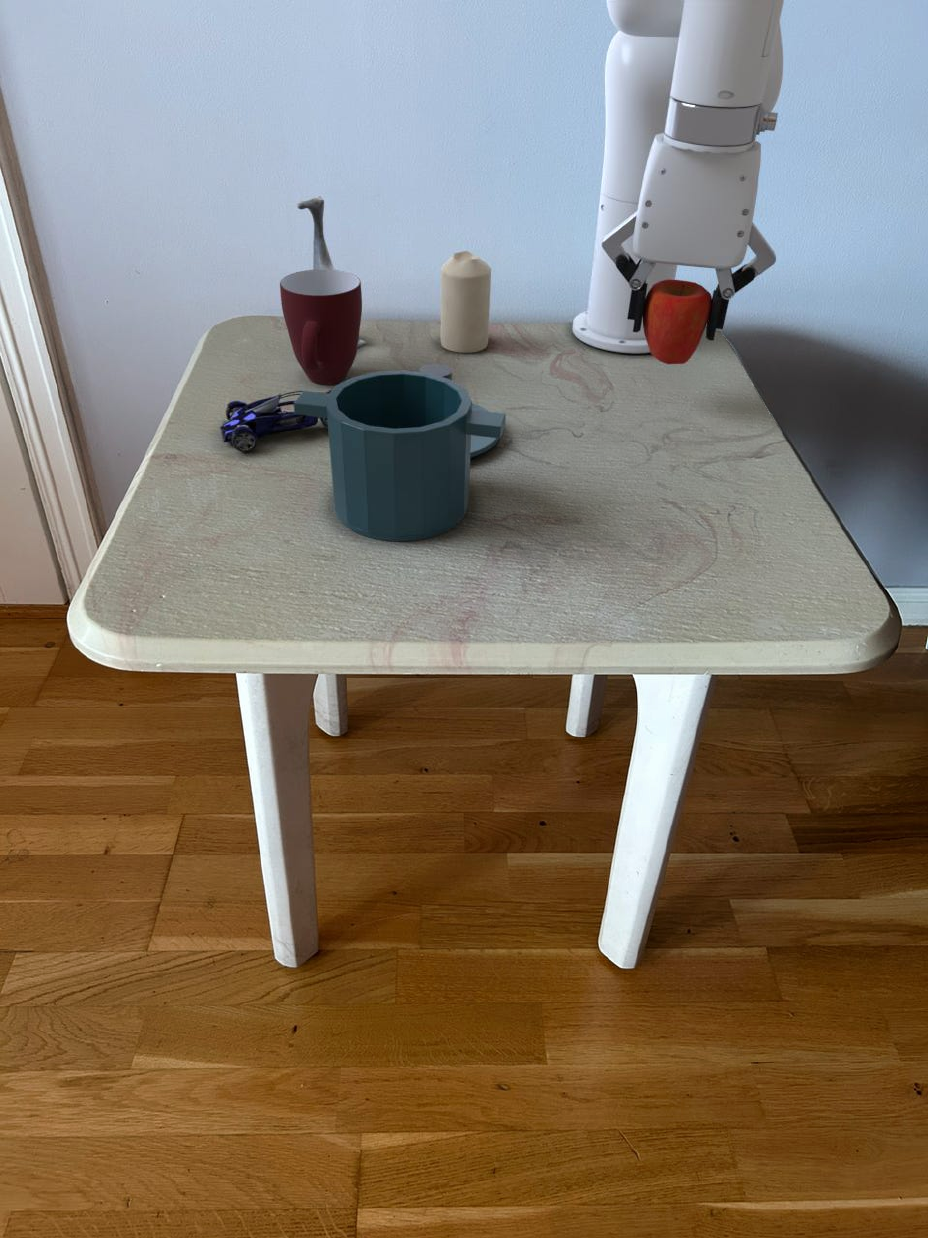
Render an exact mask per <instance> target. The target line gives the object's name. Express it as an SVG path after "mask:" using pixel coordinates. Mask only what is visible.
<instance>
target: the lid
mask: <svg viewBox="0 0 928 1238" xmlns="http://www.w3.org/2000/svg"><path fill="white" fill-rule="evenodd" d="M418 372H423V373H431V374H434V375H437V376H441V377H444V378H447V379H450V380H452V381H453V369H452V368H451V367H450V366H448V365H446V364H440V363H428V364H425V365H422V366H421V367H419V370H418ZM472 410H479V411H487V412H490V411H489V410H488V409H486V408H485V407H482V406H480V405H478V404H475V403H472ZM499 440H500V438H491V437H483V436H474V435H471V451H470V459H472V458H473V457H476V456H479V455H481V454H484V453H485V452H487V451H489V450H491V449H492V448H493V447H494V446H495V445H497V443H498V442H499Z"/></svg>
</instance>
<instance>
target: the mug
mask: <svg viewBox="0 0 928 1238" xmlns="http://www.w3.org/2000/svg"><path fill="white" fill-rule="evenodd" d="M279 291H280V293H279V294H280V302H281V310H282V315H283V318H284V322H285V325H286V330H287V333H288V336H289V340H290V343H291V347H292V351H293V355H294V357H295V359H296V361H297V362H298V364H299V366H300V367H301V369H302V371H303V372H304V374H305V375H306V377H307V378H308V379H309V381H311V382H313V383H315V384H319V385H334V384H338V383H339V384H340V383H342V382H344V381H345V379H346V378H347V377H348V374H349V372H350V371H351V369H352V367H353V364H354V362H355V358H356V357H357V352H358V348H359V347H358V339H360V332H361V331H360V330H361V323H362V314H363V294H362V282H361V279H360V278H359V277H358V276H357V275H355V274H353V273H350V272H347V271H344V270H338V269H335V270H326V269H318V270H313V269H307V270H306V269H305V270H301V271H297V272H293V273H290V274H288V275H286V276H284V277H283V278H282V279H281V280H280V282H279ZM357 347H358V348H357Z"/></svg>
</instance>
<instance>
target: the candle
mask: <svg viewBox="0 0 928 1238" xmlns="http://www.w3.org/2000/svg"><path fill="white" fill-rule="evenodd" d="M491 285H492V268H491V267H490V266H489V264H488V263H487V262H486V261H485V260H483V259H482V258H480V256H478V255H477V254H474V253H472V252H470V251H468V250H464V251H459V252H454V254H453V255H452V256H451V257H449V259H448V260H446V262H445V263H443V265H442V266H441V267H440V345H441V347H443V348H444V349H445V350H447V351H451V352H453V353H461V354H462V353H463V354H471V353H477V352H480V351H483V350H484V349H486V348H487V347H488V345H489V336H490V335H489V332H490V331H489V330H490V309H491V306H490V305H491V287H492V286H491Z"/></svg>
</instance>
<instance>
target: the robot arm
mask: <svg viewBox="0 0 928 1238" xmlns="http://www.w3.org/2000/svg"><path fill="white" fill-rule="evenodd" d="M605 1H606V6H607V12H608V15H609V18H610V20H611V22H612V24H613V26H614V27H615V28H616V30H618V31H617V32H616V34H614V36H613V37H612V39H611V41H610V43H609V46H608V49H607V52H606V58H605V66H604V88H605V89H604V93H605V96H604V98H605V99H604V101H605V137H604V138H605V139H604V154H603V164H602V173H601V174H602V175H601V185H600V196H599V203H598V213H597V222H596V230H595V231H596V232H595V239H594V240H595V241H594V248H593V249H594V250H593V257H592V266H591V278H590V286H589V293H588V301H587V310H585V311H582V312H580V313H579V314H578V315H576V316H575V317H574V319H573V321H572V329H571V330H572V333H573V335H574V336H575V337H576V338H577V339H578V340H579V341H581V342H582V343H584V344H586V345H588V346H591V347H593V348H596V349H599V350H604V351H609V352H613V353H620V354H649V353H650V354H651V352H650V350H649V347H648V344H647V341H646V337H645V334H644V329H643V311H644V304H645V299H646V296H647V294H648V292H649V291H650V289H651V288H652V286H653V285H654V284H656V283H658V282H660V281H663V280H676V275H677V271H678V266H683V267H694V268H695V267H696V268H707V269H714V270H715V274H716V278H717V282H718V284H717V285H716V286H717V287H716V288H715V289H714V290H713V291H712V295H711V296H712V309H711V313H710V316H709V319H708V322H707V324H706V327H705V339H707V341H714V340H715V335H716V331H717V330H723V329H724V326H725V321H726V317H727V312H728V308H729V304H730V300H731V299H732V298H734V296H735V294H737V293H739V291H741V290H743V289H744V288H745V287H746V286H747V285H749V284H751V283H752V282H753V281H754V280H755V278H757V277H758V276H760V275H761V274H763V273H764V272H765V271H766V270H768V269H769V268H771V267H772V266H773V265H774V264H775V263H776V261H777V255H776V252H775V251H774V249H773V248H772V246H771V245H770V244H769V242H768V241H767V239H766V238H765V237H764V235H763V234H762V233H761V231H760V230H759V229H758V227H757V226H756V225H755V223H754V222H753V221H754V215H755V209H756V203H757V195H758V186H759V177H760V169H761V162H762V161H761V160H762V159H761V158H762V157H761V156H762V144H761V142H759V141H757V140H756V138H757V136H760V134H761V133H765V132H766V131H770V132H771V131H772V132H775V129H776V125H777V121H778V115H779V114H778V112H772V111H773V109H774V108H775V106H776V105H777V102H778V100H779V96H780V92H781V90H782V89H781V88H782V83H783V78H784V77H783V76H784V75H783V74H784V48H783V47H784V46H783V38H782V36H783V35H782V29H781V21H780V20H781V17H782V12H783V7H784V3H785V0H605ZM748 247H749V248H750V250H751V251H752V252H753V253H754V255H755V256H754V257H753V258H752V259H751V260H750V261H749V262H748V263H745V264H743V261H744V260H745V257H746V255H747V250H748ZM742 264H743V265H742ZM740 265H742V266H741V267H739V268H738V269H737V270H735V271H734V272H733V269H734V268H737V267H738V266H740Z"/></svg>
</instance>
